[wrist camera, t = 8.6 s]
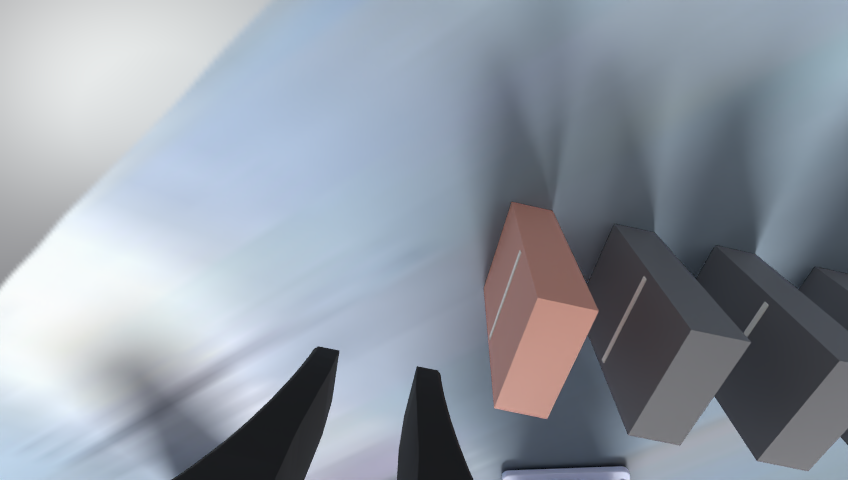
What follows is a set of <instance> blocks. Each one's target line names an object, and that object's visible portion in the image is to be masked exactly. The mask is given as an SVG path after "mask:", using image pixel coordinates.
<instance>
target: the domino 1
mask: <svg viewBox="0 0 848 480" xmlns="http://www.w3.org/2000/svg"><path fill="white" fill-rule="evenodd" d="M587 286H588V289H589V291H590V293H591V295H592V297H593V299H594V302H595V304H596V306H597V308H598V310H599V312H598V314H597V316H596V318H595V320H594V322H593V324H592V326H591V328H590V330H589V333H588V336H589V338H590V341H591V343H592V346H593V348H594V351H595V353H596V356H597V358H598V361H599V363H600V366H601V368H602V371H603V373H604V376H605V379H606V381H607V384H608V386H609V389H610V391H611V394H612V396H613V399H614V401H615V404H616V406H617V409H618V411H619V414H620V416H621V419H622V421H623V424H624V426H625V429H626V431H627V434H628V435H630V436H635V437H640V438H645V439H650V440H655V441H660V442H665V443H670V444H675V445H681V444H682V442H683V441H684V439H685V438H686V436H687V435H688V433H689V432H690V431H691V429H692V428H693V426H694V425H695V423H696V422H697V420H698V419H699V417H700V416H701V415H702V413H703V412H704V410H705V409H706V407H707V406H708V404H709V403H710V401H711V400H712V399H713V397H714V396H715V394H716V393H717V391H718V390H719V388H720V387H721V386H722V384H723V383H724V381H725V380H726V378H727V377H728V375H729V374H730V372H731V371H732V370H733V368H734V367H735V365H736V364H737V362H738V361H739V359H740V358H741V357H742V355H743V354H744V352H745V351H746V349H747V348H748V346H749V345H750V343H751V341H750V340H749V339H748V338H747V337H746V336H745V334H744V333H743V332H742V331H741V330H740V329H739V328H738V327H737V325H736V324H735V323H734V322H733V321H732V320H731V319H730V317H729V316H728V315H727V314H726V313H725V312H724V311H723V309H722V308H721V307H720V306H719V305H718V304H717V303H716V301H715V300H714V299H713V298H712V297H711V296H710V295H709V293H708V292H707V291H706V290H705V289H704V288H703V287H702V286H701V284H700V283H699V282H698V281H697V280H696V279H695V278H694V276H693V275H692V274H691V273H690V272H689V271H688V270H687V268H686V267H685V266H684V265H683V264H682V263H681V262H680V260H679V259H678V258H677V257H676V256H675V255H674V254H673V253H672V251H671V250H670V249H669V248H668V247H667V246H666V245H665V243H664V242H663V241H662V240H661V239H660V238H659V237H658V235H657V234H656V233H655V232H651V231H646V230H641V229H637V228H632V227H627V226H623V225H618V224H614V225H613V228H612V230H611V232H610V234H609V237H608V239H607V241H606V244H605V246H604V248H603V250H602V253H601V255H600V257H599V260H598V262H597V264H596V266H595V269H594V271H593V273H592V275H591V278H590V280H589V282H588V285H587Z"/></svg>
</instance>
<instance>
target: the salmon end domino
mask: <svg viewBox="0 0 848 480" xmlns="http://www.w3.org/2000/svg"><path fill="white" fill-rule="evenodd" d="M484 297H485V309H486V321H487V332H488V344H489V355H490V367H491V378H492V390H493V401H494V408H496V409H500V410H505V411H510V412H515V413H520V414H525V415H529V416H534V417H539V418H544V419H547V418H548V416H549V414H550V412H551V410H552V408H553V406H554V404H555V401H556V399H557V397H558V395H559V393H560V391H561V389H562V387H563V385H564V383H565V381H566V379H567V376H568V374H569V372H570V370H571V368H572V366H573V364H574V362H575V360H576V358H577V356H578V353H579V351H580V349H581V347H582V345H583V343H584V341H585V339H586V337H587V335H588V333H589V330H590V328H591V326H592V324H593V322H594V320H595V318H596V316H597V314H598V312H599V310H598V308H597V306H596V304H595V302H594V299H593V297H592V295H591V293H590V291H589V289H588V286H587V284H586V282H585V280H584V278H583V276H582V273H581V271H580V269H579V267H578V265H577V263H576V260H575V258H574V256H573V254H572V252H571V249H570V247H569V245H568V243H567V241H566V239H565V236H564V234H563V232H562V230H561V228H560V226H559V223H558V221H557V219H556V217H555V215H554V213H553V211H551V210H547V209H542V208H538V207H533V206H529V205H524V204H520V203H515V202H511V205H510V208H509V212H508V215H507V218H506V221H505V224H504V227H503V230H502V233H501V236H500V239H499V242H498V246H497V249H496V252H495V255H494V258H493V261H492V264H491V267H490V270H489V273H488V277H487V280H486V283H485V286H484Z"/></svg>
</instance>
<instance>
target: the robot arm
mask: <svg viewBox="0 0 848 480" xmlns="http://www.w3.org/2000/svg"><path fill="white" fill-rule="evenodd" d="M338 356H339V351H338V350H334V349H329V348H324V347H319V346H318V347H317V348H315V349H314V350H313V351H312V353H311V354H310V355H309V357H308V358H307V359H306V361H305V362H304V363H303V364H302V366H301V367H300V368H299V369H298V370H297V372H296V373H295V374H294V375H293V376H292V377H291V378H290V380H289V381H288V382H287V383H286V384H285V385H284V386H283V387H282V388H281V389H280V390H279V391H278V392H277V393H276V394H275V396H274V397H273V398H272V399H271V400H270V401H269V402H268V403H267V404H265V405H264V406H263V407H262V408H261V409H260V410H259V411H258V412H257V413H256V414H255V415H254V416H253V417H252V418H251V419H250V420H249V421H248V422H246V423H245V424H244V425H243V426H242V427H241V428H240V429H238V430H237V431H236V432H235V433H234V434H233V435H231V436H230V437H229V438H228V439H226V440H225V441H224V442H223V443H222V444H220V445H219V446H218V447H217V448H215V449H214V450H213V451H211V452H210V453H209V454H207V455H206V456H205V457H203V458H202V459H201V460H199V461H198V462H197V463H195V464H194V465H193V466H191V467H190V468H188V469H187V470H185V471H184V472H183V473H181V474H180V475H178V476H177V477H175V478H174V479H172V480H304V479H305V477H306V474H307V472H308V469H309V467H310V464H311V462H312V459H313V457H314V454H315V452H316V449H317V447H318V444H319V442H320V439H321V437H322V434H323V430H324V427H325V424H326V420H327V417H328V413H329V410H330V406H331V403H332V397H333V390H334V383H335V377H336V370H337V363H338ZM397 480H473V478H472V476H471V473H470V471H469V469H468V466H467V464H466V461H465V459H464V456H463V453H462V451H461V448H460V445H459V443H458V440H457V437H456V434H455V431H454V428H453V425H452V422H451V419H450V415H449V412H448V408H447V404H446V400H445V396H444V392H443V387H442V382H441V375H440V373H439V372H438V371H437V370H432V369H427V368H422V367H418V366H417V368H416V372H415V376H414V380H413V384H412V388H411V392H410V395H409V399H408V403H407V407H406V411H405V415H404V421H403V427H402V433H401V440H400V446H399V456H398V472H397ZM502 480H630V473H629V470H628V469H627V468H626V467H623V466H615V467H587V468H560V469H533V470H508V471H505V472H503V474H502Z"/></svg>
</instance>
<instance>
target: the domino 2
mask: <svg viewBox="0 0 848 480" xmlns="http://www.w3.org/2000/svg"><path fill="white" fill-rule="evenodd" d="M696 280H697V281H698V282H699V283H700V284H701V286H702V287H703V288H704V289H705V290H706V291H707V292H708V293H709V295H710V296H711V297H712V298H713V299H714V300H715V301H716V303H717V304H718V305H719V306H720V307H721V308H722V309H723V311H724V312H725V313H726V314H727V315H728V316H729V317H730V319H731V320H732V321H733V322H734V323H735V324H736V325H737V327H738V328H739V329H740V330H741V331H742V332H743V333H744V334H745V336H746V337H747V338H748V339H749V340H750V341H751V343H750V345H749V346H748V348H747V349H746V351H745V352H744V354H743V355H742V357H741V358H740V359H739V361H738V362H737V364H736V365H735V367H734V368H733V370H732V371H731V372H730V374H729V375H728V377H727V378H726V380H725V381H724V383H723V384H722V386H721V387H720V388H719V390H718V391H717V393H716V394H715V398H716V399H717V401H718V402H719V404H720V405H721V407H722V409H723V410H724V412H725V413H726V415H727V416H728V418H729V419H730V421H731V422H732V424H733V425H734V427H735V428H736V430H737V431H738V433H739V434H740V436H741V437H742V439H743V441H744V442H745V444H746V445H747V447H748V448H749V450H750V451H751V453H752V454H753V456H754V457H755V459H756V460H757V461H760V462H765V463H770V464H775V465H780V466H785V467H790V468H795V469H800V470H804V471H809V470H810V469H811V468H812V467H813V465H814V464H815V463H816V462H817V461H818V460H819V459H820V458H821V457H822V456H823V455H824V454H825V452H826V451H827V450H828V449H829V448H830V447H831V446H832V445H833V444H834V443H835V442H836V441H837V439H838V438H839V437H840V436H841V435H842V434H843V433H844V432H845V431H846V430H847V429H848V331H847V330H846V329H845V328H844V327H843V326H841V325H840V324H839V323H838V322H837V321H835V320H834V319H833V318H832V317H831V316H829V315H828V314H827V313H826V312H825V311H823V310H822V309H821V308H820V307H819V306H817V305H816V304H815V303H814V302H813V301H811V300H810V299H809V298H808V297H807V296H805V295H804V294H803V293H802V292H800V291H799V290H798V289H797V288H796V287H794V286H793V285H792V284H791V283H790V282H788V281H787V280H786V279H785V278H784V277H782V276H781V275H780V274H779V273H778V272H776V271H775V270H774V269H773V268H772V267H770V266H769V265H768V264H767V263H766V262H764V261H763V260H762V259H761V258H760V257H758V256H757V255H756V254H753V253H749V252H744V251H739V250H735V249H730V248H725V247H721V246H716V245H715V247H714V248H713V250H712V252H711V254H710V255H709V257H708V259H707V261H706V262H705V264H704V266H703V268H702V269H701V271H700V273H699V275H698V277H697V278H696Z"/></svg>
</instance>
